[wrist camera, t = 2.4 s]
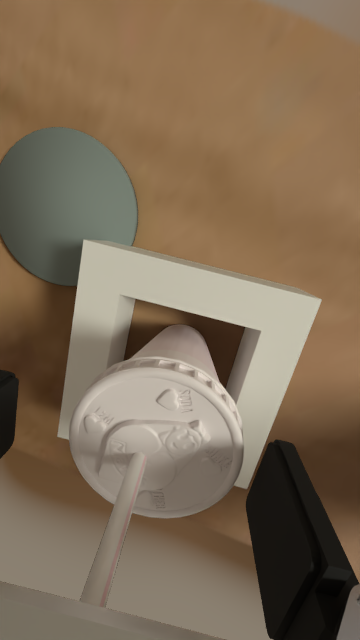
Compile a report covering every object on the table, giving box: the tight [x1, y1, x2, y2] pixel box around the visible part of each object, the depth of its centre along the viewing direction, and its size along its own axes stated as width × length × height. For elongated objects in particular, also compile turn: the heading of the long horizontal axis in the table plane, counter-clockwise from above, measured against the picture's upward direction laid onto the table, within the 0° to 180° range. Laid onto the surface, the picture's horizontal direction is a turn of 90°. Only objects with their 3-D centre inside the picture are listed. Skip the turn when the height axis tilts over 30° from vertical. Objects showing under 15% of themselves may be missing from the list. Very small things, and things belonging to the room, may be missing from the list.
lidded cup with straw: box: [69, 324, 244, 608], centre depth 12 cm, size 6×6×14 cm
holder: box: [57, 240, 322, 489], centre depth 17 cm, size 12×12×4 cm
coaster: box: [0, 127, 138, 286], centre depth 17 cm, size 9×9×1 cm
